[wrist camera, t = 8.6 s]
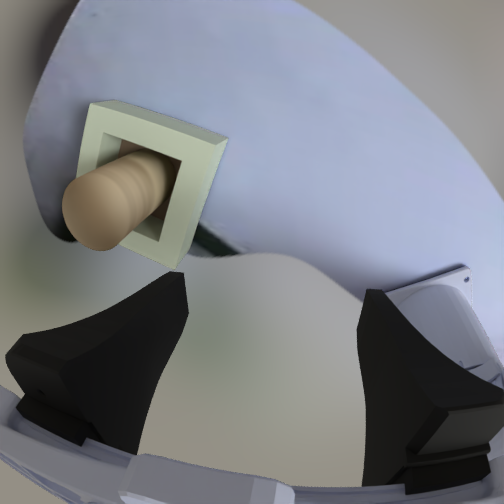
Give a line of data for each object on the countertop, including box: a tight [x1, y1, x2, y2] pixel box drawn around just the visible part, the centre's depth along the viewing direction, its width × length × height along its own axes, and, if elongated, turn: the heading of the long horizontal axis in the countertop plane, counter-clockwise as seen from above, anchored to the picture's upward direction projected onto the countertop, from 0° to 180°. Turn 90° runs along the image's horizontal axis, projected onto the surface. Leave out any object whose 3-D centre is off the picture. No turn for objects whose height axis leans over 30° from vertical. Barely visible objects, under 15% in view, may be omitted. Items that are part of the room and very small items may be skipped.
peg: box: [62, 148, 176, 251], centre depth 17 cm, size 4×4×7 cm
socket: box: [76, 100, 228, 270], centre depth 19 cm, size 8×8×3 cm
